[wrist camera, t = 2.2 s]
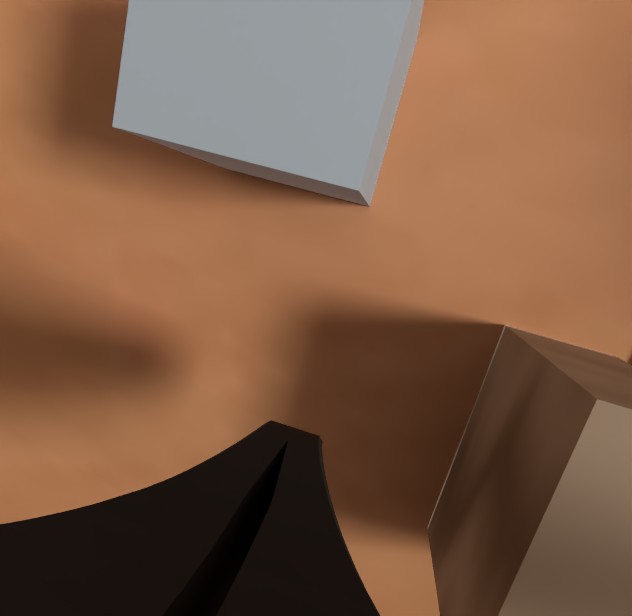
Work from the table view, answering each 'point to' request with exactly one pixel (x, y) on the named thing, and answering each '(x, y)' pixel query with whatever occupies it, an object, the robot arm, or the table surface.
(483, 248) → the table surface
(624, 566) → the walnut block
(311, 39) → the grey block
